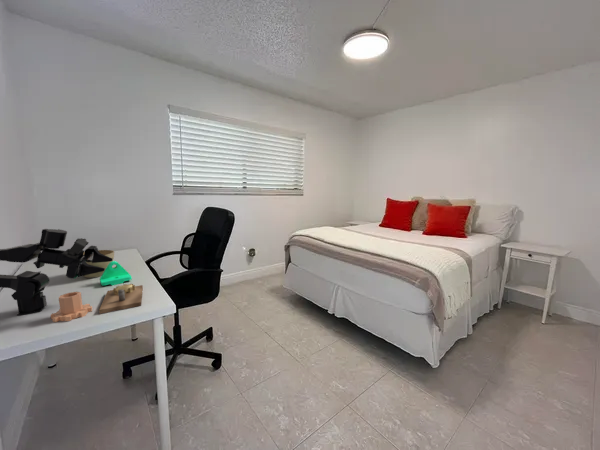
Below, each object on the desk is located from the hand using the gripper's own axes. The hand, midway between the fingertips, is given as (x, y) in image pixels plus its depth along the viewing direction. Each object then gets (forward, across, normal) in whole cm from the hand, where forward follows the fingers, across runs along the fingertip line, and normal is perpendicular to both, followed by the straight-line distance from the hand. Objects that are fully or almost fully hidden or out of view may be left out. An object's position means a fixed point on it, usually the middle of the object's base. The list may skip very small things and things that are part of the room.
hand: (108, 264), depth 102 cm
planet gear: (-5, -13, +15) cm, 20 cm away
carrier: (+9, -5, +12) cm, 16 cm away
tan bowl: (-12, +36, +27) cm, 46 cm away
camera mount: (+1, +20, +20) cm, 28 cm away
